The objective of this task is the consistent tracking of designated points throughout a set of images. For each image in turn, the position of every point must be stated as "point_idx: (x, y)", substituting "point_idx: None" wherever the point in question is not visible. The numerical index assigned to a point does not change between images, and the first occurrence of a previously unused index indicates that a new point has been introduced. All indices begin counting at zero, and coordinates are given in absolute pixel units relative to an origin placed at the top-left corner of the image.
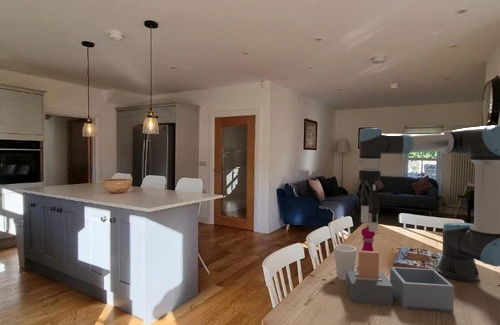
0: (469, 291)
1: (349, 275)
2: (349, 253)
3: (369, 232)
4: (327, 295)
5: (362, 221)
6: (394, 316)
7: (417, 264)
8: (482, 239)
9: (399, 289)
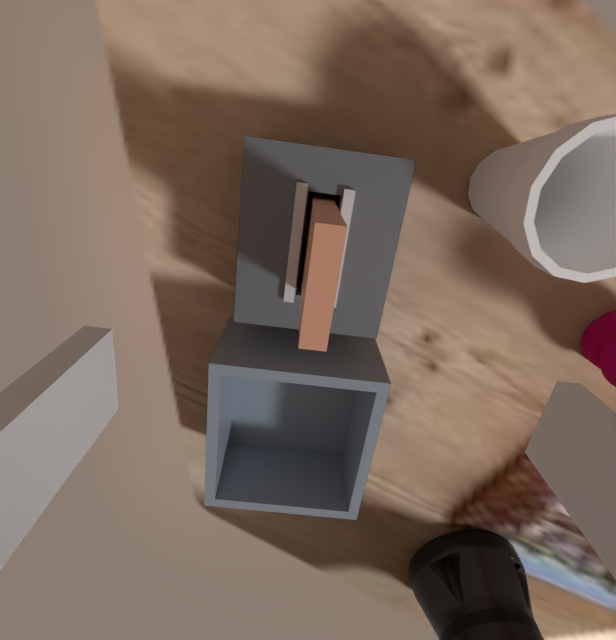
0: (351, 537)
1: (348, 157)
2: (519, 211)
3: None
4: (320, 32)
5: (558, 400)
6: (173, 269)
7: None
8: None
9: (263, 345)
